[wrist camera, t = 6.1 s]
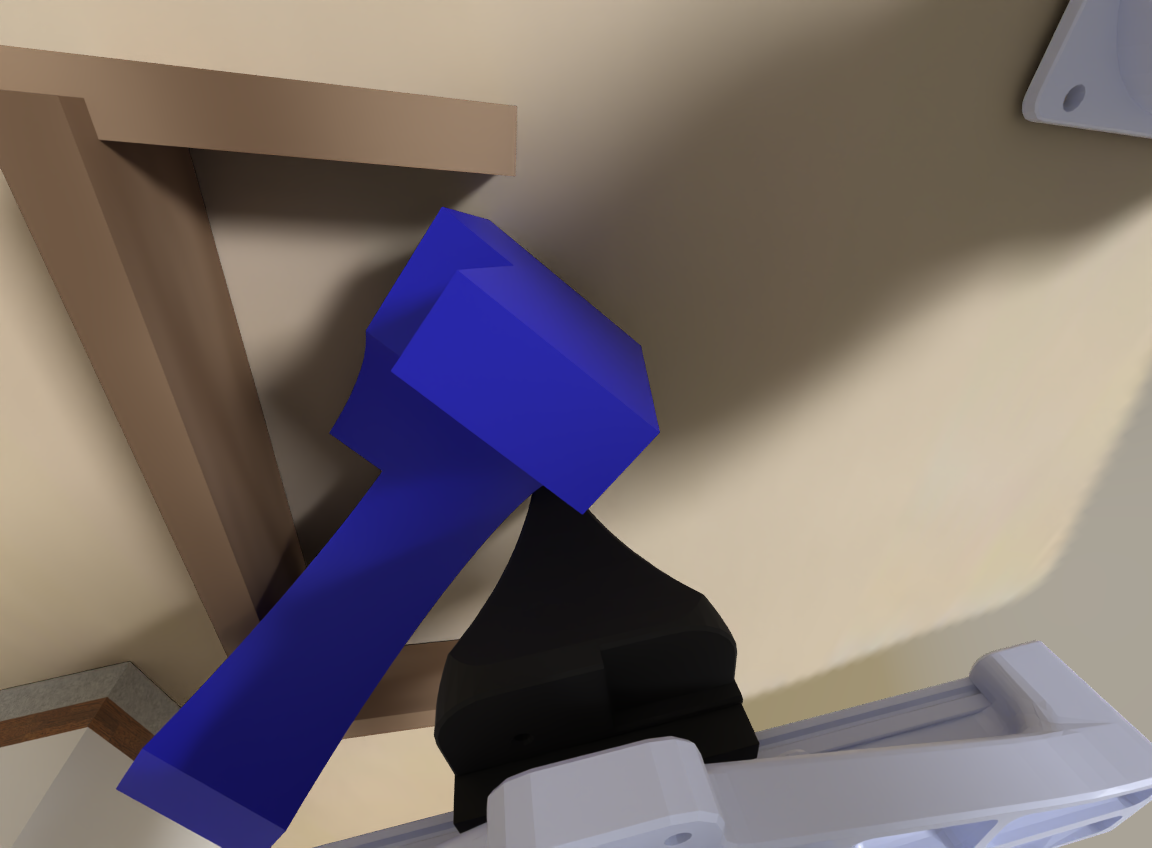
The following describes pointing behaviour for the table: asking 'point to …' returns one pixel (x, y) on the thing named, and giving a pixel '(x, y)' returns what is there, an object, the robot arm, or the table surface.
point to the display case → (82, 762)
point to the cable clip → (407, 514)
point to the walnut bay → (205, 290)
